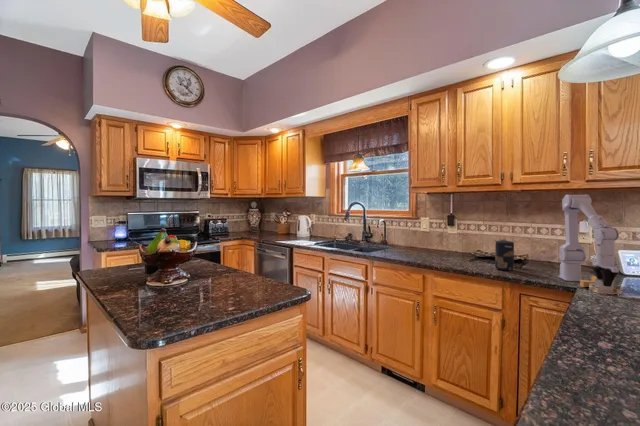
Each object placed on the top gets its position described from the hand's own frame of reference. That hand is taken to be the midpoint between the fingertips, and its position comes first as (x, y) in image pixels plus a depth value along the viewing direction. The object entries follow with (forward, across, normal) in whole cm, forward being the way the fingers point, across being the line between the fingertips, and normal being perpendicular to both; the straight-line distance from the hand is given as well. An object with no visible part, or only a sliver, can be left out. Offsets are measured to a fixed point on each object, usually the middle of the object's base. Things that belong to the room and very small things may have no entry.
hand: (604, 284), depth 138 cm
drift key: (+3, -8, -2) cm, 9 cm away
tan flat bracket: (+3, 0, 0) cm, 3 cm away
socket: (+3, -8, -2) cm, 9 cm away
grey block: (+3, 0, 0) cm, 3 cm away
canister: (+4, -41, -28) cm, 50 cm away
